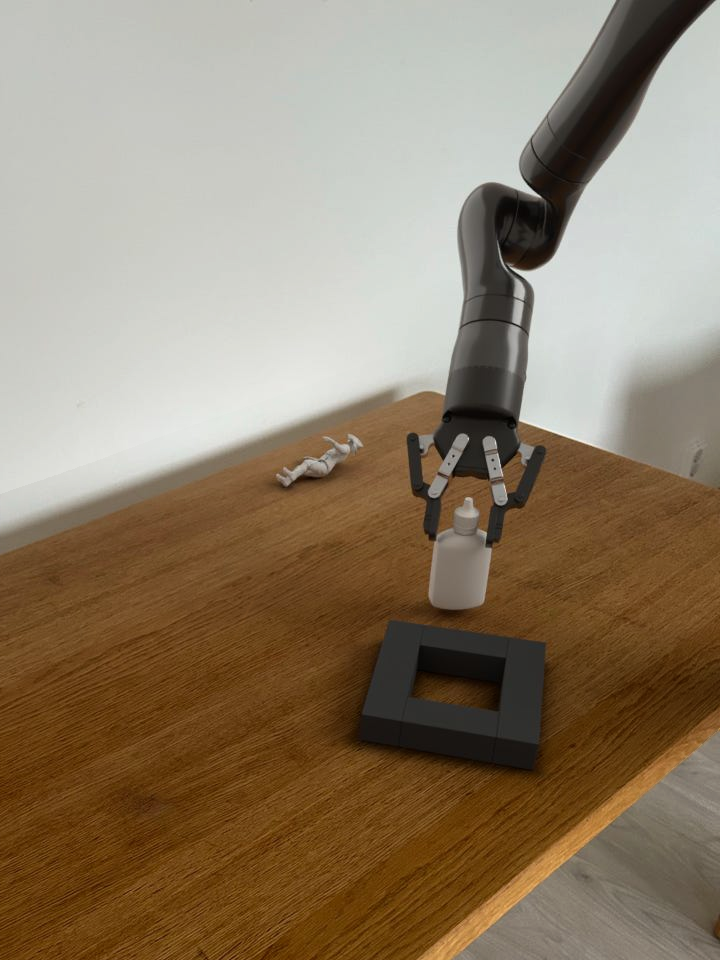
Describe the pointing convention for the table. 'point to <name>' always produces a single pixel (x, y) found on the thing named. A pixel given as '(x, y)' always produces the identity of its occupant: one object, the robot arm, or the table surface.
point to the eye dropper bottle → (460, 562)
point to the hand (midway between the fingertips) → (460, 541)
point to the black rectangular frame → (449, 725)
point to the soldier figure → (322, 461)
